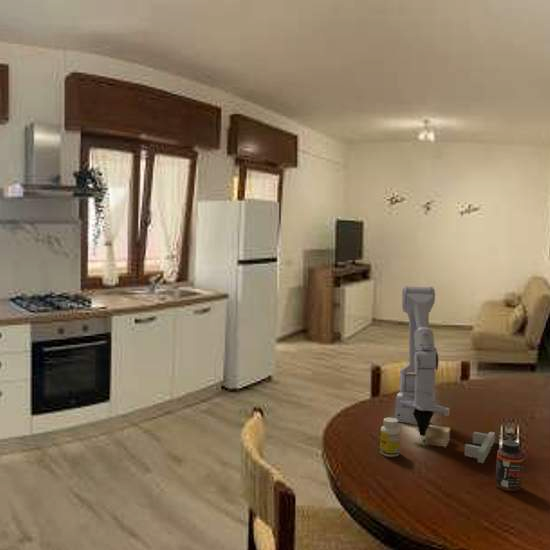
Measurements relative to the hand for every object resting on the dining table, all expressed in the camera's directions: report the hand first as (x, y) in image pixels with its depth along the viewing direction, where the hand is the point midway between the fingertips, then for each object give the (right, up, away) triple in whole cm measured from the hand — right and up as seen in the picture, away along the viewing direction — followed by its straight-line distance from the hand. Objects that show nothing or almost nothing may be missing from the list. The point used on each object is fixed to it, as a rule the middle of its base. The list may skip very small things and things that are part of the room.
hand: (422, 434), depth 179 cm
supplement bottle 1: (-12, -3, -11) cm, 17 cm away
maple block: (+4, -2, -2) cm, 5 cm away
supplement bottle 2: (+13, -5, -31) cm, 34 cm away
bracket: (+14, -2, -8) cm, 16 cm away
